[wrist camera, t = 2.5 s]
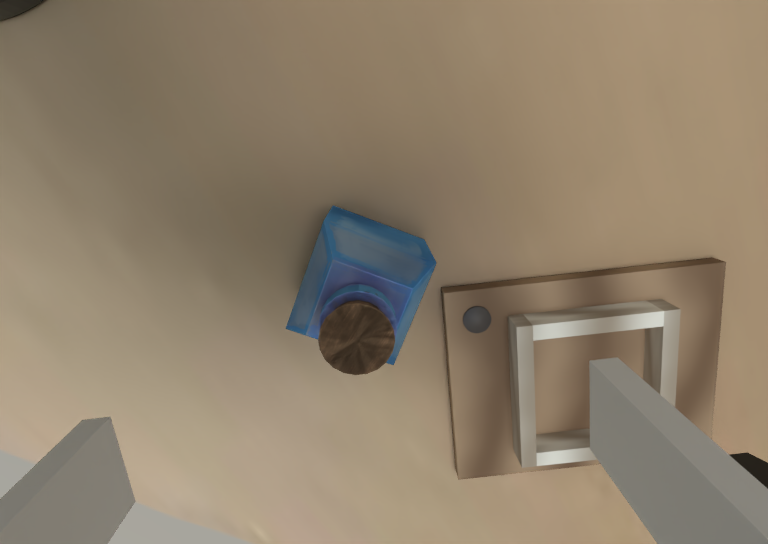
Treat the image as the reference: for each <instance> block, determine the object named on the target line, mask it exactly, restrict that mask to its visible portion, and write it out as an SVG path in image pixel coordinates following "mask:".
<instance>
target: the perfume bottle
mask: <svg viewBox="0 0 768 544" xmlns="http://www.w3.org/2000/svg"><path fill="white" fill-rule="evenodd" d="M435 266H436V261H435V259H434V257H433V255H432V253H431V251H430V250H429V248H428V246H427V244H426V242H425V240H424V239H421V238H419V237H416V236H413V235H411V234H408V233H405V232H403V231H400V230H397V229H395V228H392V227H389V226H387V225H384V224H381V223H379V222H376V221H373V220H371V219H368V218H365V217H363V216H360V215H357V214H355V213H352V212H349V211H347V210H344V209H341V208H339V207H336V206H332V208H331V210H330V211H329V213H328V215H327V216H326V218H325V220H324V221H323V224H322V227H321V230H320V233H319V235H318V238H317V241H316V244H315V247H314V250H313V252H312V255H311V258H310V261H309V264H308V267H307V270H306V272H305V275H304V278H303V281H302V284H301V287H300V289H299V292H298V295H297V298H296V301H295V304H294V306H293V309H292V312H291V315H290V318H289V321H288V323H287V326H286V329H288V330H291V331H294V332H297V333H300V334H303V335H306V336H309V337H312V338H315V339H318V341H319V347H320V351H321V353H322V355H323V357H324V358H325V360H326V361H327V362H328V363H329V364H330V365H331V366H332V367H333V368H335V369H337V370H339V371H341V372H343V373H347V374H353V375H360V374H368V373H370V372H372V371H375V370H377V369H379V368H380V367H381V366H382V365H383V364H385V363H388V364H391V365H394V363H395V360H396V358H397V356H398V353H399V351H400V349H401V346H402V344H403V341H404V339H405V337H406V334H407V332H408V330H409V327H410V325H411V322H412V320H413V318H414V315H415V313H416V311H417V308H418V306H419V303H420V301H421V299H422V296H423V294H424V292H425V289H426V287H427V285H428V282H429V280H430V277H431V275H432V273H433V270H434V268H435Z"/></svg>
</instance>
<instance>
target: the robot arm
mask: <svg viewBox="0 0 768 544" xmlns="http://www.w3.org/2000/svg"><path fill="white" fill-rule="evenodd" d="M42 1H43V0H0V20H3V19H7V18H10V17H13V16H16V15H18V14H21V13H23V12H25V11H27V10H29V9H31V8H33V7H34V6H36V5H37V4H39V3H40V2H42ZM589 370H590V449H591V451H592V452H593V454H594V455H595V456H596V458H597V459H598V461H599V462H600V463H601V465H602V466H603V468H604V469H605V470H606V472H607V473H608V475H609V476H610V477H611V479H612V480H613V482H614V483H615V484H616V486H617V487H618V489H619V490H620V492H621V493H622V494H623V496H624V497H625V499H626V500H627V501H628V503H629V504H630V506H631V507H632V508H633V510H634V511H635V513H636V514H637V515H638V517H639V518H640V520H641V521H642V522H643V524H644V525H645V527H646V528H647V529H648V531H649V532H650V534H651V535H652V536H653V538H654V539H655V541H656V542H657V543H658V544H768V463H767V462H765V461H763V460H761V459H759V458H757V457H755V456H753V455H751V454H749V453H740V454H731V455H729V454H727V453H726V452H725V451H724V450H723V449H722V448H721V447H719V446H718V445H717V444H716V443H715V442H714V441H713V440H711V439H710V438H709V437H708V436H707V435H706V434H705V433H703V432H702V431H701V430H700V429H699V428H698V427H697V426H695V425H694V424H693V423H692V422H691V421H690V420H689V419H687V418H686V417H685V416H684V415H683V414H682V413H681V412H679V411H678V410H677V409H676V408H675V407H674V406H673V405H671V404H670V403H669V402H668V401H667V400H666V399H665V398H663V397H662V396H661V395H660V394H659V393H658V392H657V391H655V390H654V389H653V388H652V387H651V386H650V385H649V384H647V383H646V382H645V381H644V380H643V379H642V378H641V377H639V376H638V375H637V374H636V373H635V372H634V371H633V370H631V369H630V368H629V367H628V366H627V365H626V364H625V363H623V362H622V361H621V360H620V359H619V358H618V357H617V358H608V359H600V360H591V361H589ZM134 503H135V498H134V495H133V491H132V488H131V485H130V481H129V478H128V475H127V471H126V468H125V465H124V461H123V458H122V455H121V451H120V448H119V444H118V441H117V438H116V434H115V431H114V428H113V424H112V421H111V418H110V417H105V418H96V419H87V420H82V421H81V422H80V423H79V424H78V425H77V426H76V427H75V428H74V429H73V430H72V431H71V432H70V433H68V434H67V435H66V436H65V437H64V438H63V439H62V440H61V441H60V442H59V443H58V444H57V445H56V446H55V447H54V448H53V449H52V450H51V451H50V452H49V453H48V454H47V455H46V456H45V457H43V458H42V459H41V460H40V461H39V462H38V463H37V464H36V465H35V466H34V467H33V468H32V469H31V470H30V471H29V472H28V473H27V474H26V475H25V476H24V477H23V478H22V479H21V480H20V481H18V482H17V483H16V484H15V485H14V487H12V488H11V489H10V490H9V491H8V492H7V493H6V494H5V495H4V496H3V497H2V498H1V499H0V544H107V543H108V542H109V541H110V539H111V538H112V536H113V535H114V533H115V532H116V530H117V528H118V527H119V525H120V524H121V522H122V521H123V519H124V518H125V516H126V515H127V513H128V512H129V510H130V509H131V507H132V506H133V504H134Z"/></svg>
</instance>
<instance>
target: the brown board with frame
mask: <svg viewBox="0 0 768 544" xmlns="http://www.w3.org/2000/svg"><path fill="white" fill-rule="evenodd" d="M725 266H726V262H724V261H721V260H718V259H715V258H706V259H697V260H688V261H679V262H670V263H661V264H652V265H643V266H633V267H624V268H615V269H606V270H597V271H588V272H579V273H570V274H561V275H552V276H543V277H534V278H525V279H516V280H507V281H498V282H489V283H480V284H471V285H462V286H453V287H444V288H441V293H442V306H443V318H444V330H445V343H446V355H447V368H448V380H449V393H450V405H451V417H452V430H453V442H454V455H455V467H456V472H457V476H458V480H459V479H468V478H477V477H487V476H496V475H505V474H514V473H523V472H533V471H542V470H551V469H560V468H569V467H579V466H588V465H597V464H601V463H600V462H599V461H598V459H597V458H596V456H595V455H594V454H593V452H592V451H591V449H590V370H589V361H591V360H600V359H608V358H617V357H618V358H619V359H620V360H621V361H622V362H623V363H625V364H626V365H627V366H628V367H629V368H630V369H631V370H633V371H634V372H635V373H636V374H637V375H638V376H639V377H641V378H642V379H643V380H644V381H645V382H646V383H647V384H649V385H650V386H651V387H652V388H653V389H654V390H655V391H657V392H658V393H659V394H660V395H661V396H662V397H663V398H665V399H666V400H667V401H668V402H669V403H670V404H671V405H673V406H674V407H675V408H676V409H677V410H678V411H679V412H681V413H682V414H683V415H684V416H685V417H686V418H687V419H689V420H690V421H691V422H692V423H693V424H694V425H695V426H697V427H698V428H699V429H700V430H701V431H702V432H703V433H705V434H706V435H707V436H708V437H709V438H710V439H712V426H713V414H714V402H715V389H716V377H717V365H718V352H719V340H720V327H721V315H722V303H723V290H724V278H725Z"/></svg>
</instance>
